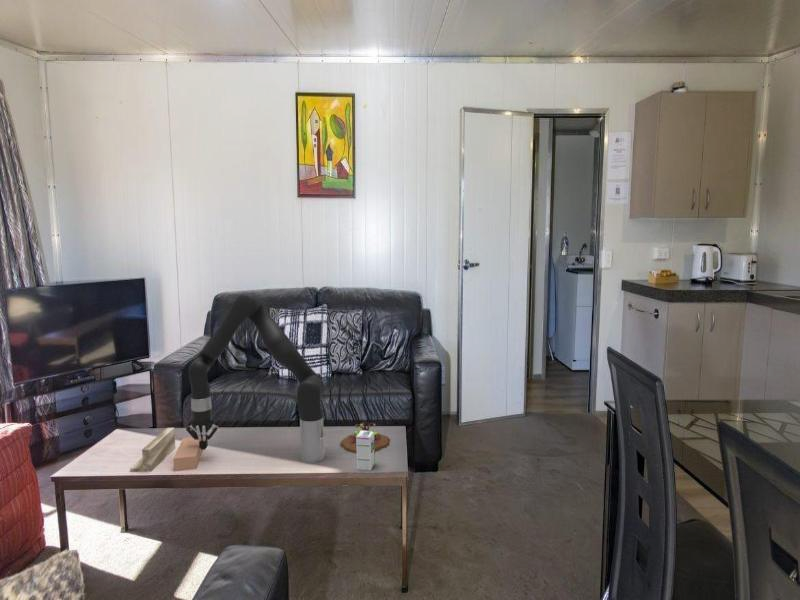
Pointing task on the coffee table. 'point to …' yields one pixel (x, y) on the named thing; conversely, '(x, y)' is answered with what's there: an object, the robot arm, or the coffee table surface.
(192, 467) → the terracotta block
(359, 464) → the syrup box
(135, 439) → the coffee table surface
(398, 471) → the coffee table surface
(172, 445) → the beige ridged rail
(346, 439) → the plant
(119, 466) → the coffee table surface
